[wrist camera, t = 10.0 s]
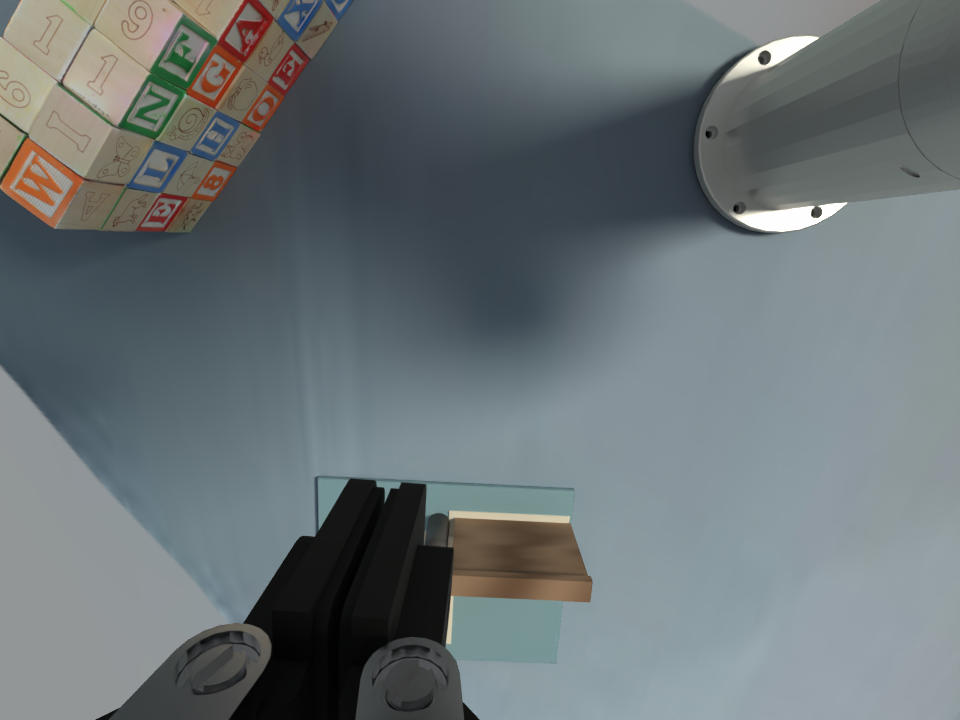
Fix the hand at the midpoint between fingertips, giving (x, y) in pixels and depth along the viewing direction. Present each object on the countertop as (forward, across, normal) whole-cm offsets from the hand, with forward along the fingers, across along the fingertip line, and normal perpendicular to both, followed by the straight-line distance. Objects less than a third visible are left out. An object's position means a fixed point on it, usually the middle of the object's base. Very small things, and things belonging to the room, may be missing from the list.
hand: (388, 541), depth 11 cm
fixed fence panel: (+27, -4, +17) cm, 32 cm away
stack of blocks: (+28, +17, -16) cm, 36 cm away
